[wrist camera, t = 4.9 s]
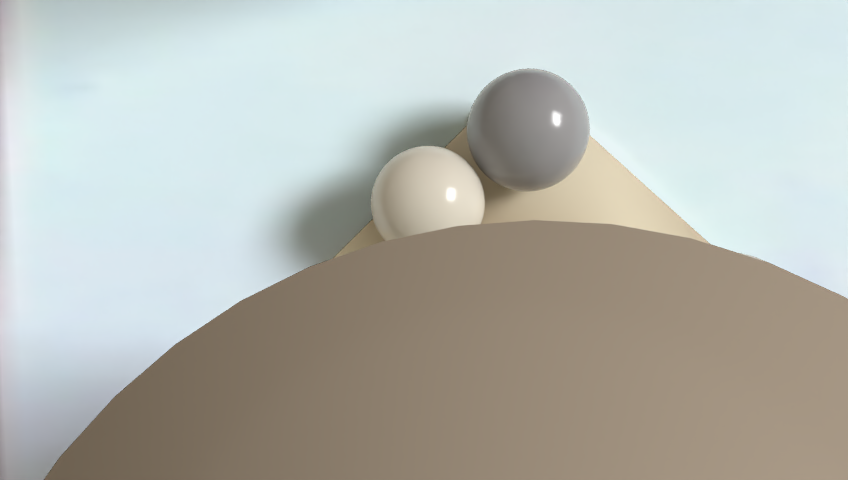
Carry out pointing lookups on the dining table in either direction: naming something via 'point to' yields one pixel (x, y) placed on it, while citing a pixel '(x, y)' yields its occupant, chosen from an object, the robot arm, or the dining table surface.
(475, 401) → the pale green lidded canister
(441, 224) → the pebble
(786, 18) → the dining table surface
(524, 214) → the board
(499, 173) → the pebble
